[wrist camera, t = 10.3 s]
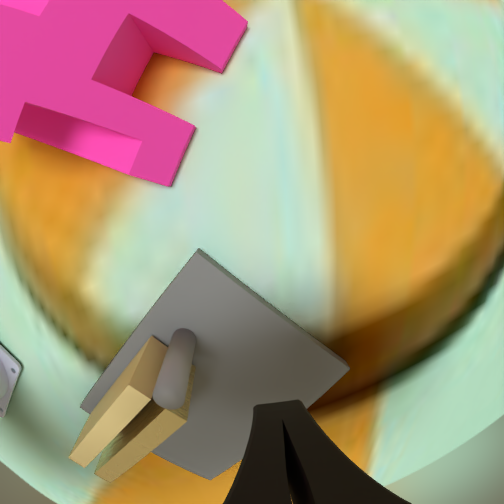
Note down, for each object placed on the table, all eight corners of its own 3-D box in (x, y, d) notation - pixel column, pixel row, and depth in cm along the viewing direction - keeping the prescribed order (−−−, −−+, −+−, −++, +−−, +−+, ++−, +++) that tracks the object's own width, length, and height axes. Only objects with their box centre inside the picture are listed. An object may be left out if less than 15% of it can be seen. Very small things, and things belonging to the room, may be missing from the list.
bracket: (16, 128, 15) (-102, 114, 5) (83, -6, 13) (13, -85, 3) (171, 186, 16) (87, 196, 6) (247, 28, 14) (263, -97, 4)
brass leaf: (179, 355, 17) (165, 408, 12) (195, 366, 17) (187, 421, 13) (112, 427, 18) (94, 473, 14) (126, 435, 19) (110, 482, 14)
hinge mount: (210, 471, 21) (208, 531, 15) (84, 399, 19) (52, 456, 13) (345, 360, 19) (382, 422, 13) (198, 248, 17) (180, 286, 11)
